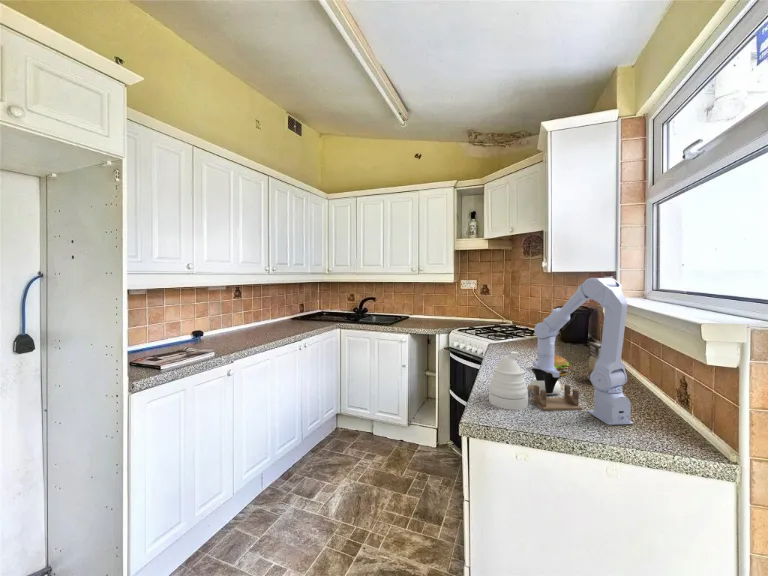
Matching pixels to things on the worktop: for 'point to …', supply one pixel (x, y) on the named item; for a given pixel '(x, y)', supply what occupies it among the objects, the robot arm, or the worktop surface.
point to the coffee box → (593, 356)
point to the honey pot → (508, 385)
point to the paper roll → (541, 385)
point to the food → (561, 365)
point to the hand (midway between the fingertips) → (545, 390)
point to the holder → (557, 400)
